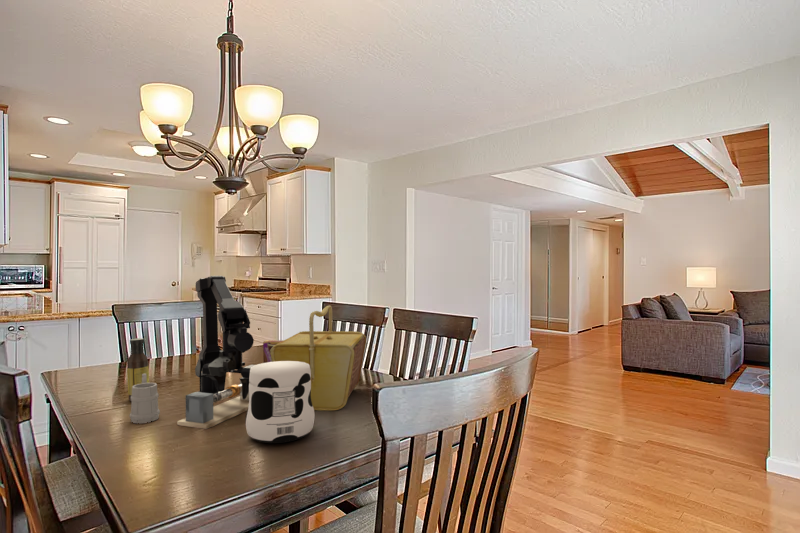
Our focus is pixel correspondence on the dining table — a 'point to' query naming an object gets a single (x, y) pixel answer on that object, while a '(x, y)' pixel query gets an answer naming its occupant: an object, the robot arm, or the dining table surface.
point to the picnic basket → (326, 361)
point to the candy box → (268, 349)
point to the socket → (199, 407)
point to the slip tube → (228, 392)
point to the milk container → (279, 402)
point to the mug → (144, 402)
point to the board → (220, 413)
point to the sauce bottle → (136, 364)
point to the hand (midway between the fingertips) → (232, 397)
